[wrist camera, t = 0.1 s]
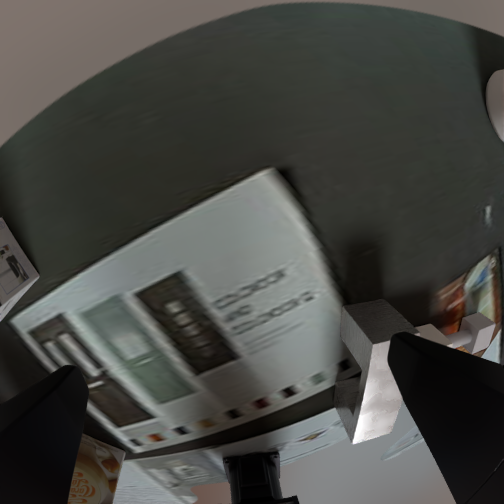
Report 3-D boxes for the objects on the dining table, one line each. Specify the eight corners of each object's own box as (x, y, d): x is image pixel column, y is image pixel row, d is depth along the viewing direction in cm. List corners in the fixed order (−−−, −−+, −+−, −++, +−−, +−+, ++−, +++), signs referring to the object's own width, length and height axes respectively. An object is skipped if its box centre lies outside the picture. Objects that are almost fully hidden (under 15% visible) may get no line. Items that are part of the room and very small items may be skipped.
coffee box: (127, 449, 27) (105, 563, 12) (119, 470, 29) (101, 568, 13) (56, 419, 25) (12, 523, 10) (56, 443, 27) (22, 535, 12)
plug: (472, 338, 27) (492, 354, 24) (356, 373, 26) (372, 400, 22) (480, 308, 26) (502, 323, 22) (361, 340, 25) (380, 366, 21)
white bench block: (368, 393, 28) (391, 432, 22) (333, 402, 27) (352, 444, 22) (383, 298, 24) (420, 332, 19) (342, 305, 24) (373, 344, 18)
